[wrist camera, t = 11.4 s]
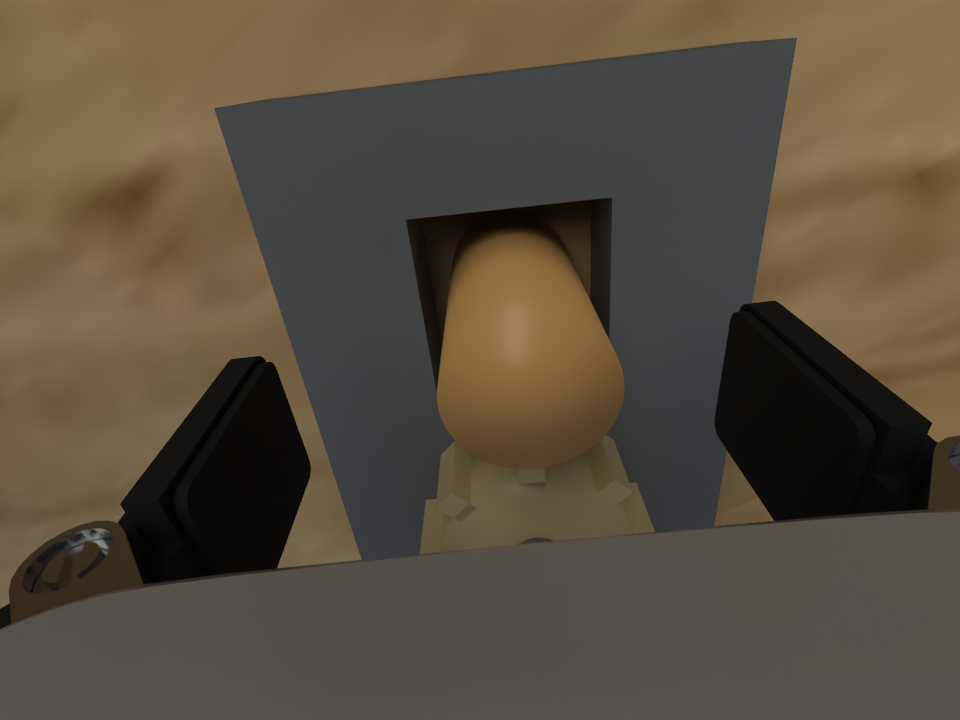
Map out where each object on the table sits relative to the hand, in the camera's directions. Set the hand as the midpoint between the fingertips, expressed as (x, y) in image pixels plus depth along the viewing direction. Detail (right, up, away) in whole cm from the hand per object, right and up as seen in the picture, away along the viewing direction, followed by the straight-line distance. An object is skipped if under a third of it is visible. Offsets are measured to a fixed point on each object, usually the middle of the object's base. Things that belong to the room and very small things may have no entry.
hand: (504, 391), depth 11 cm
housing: (+1, 0, +9) cm, 9 cm away
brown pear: (+1, +4, +7) cm, 8 cm away
